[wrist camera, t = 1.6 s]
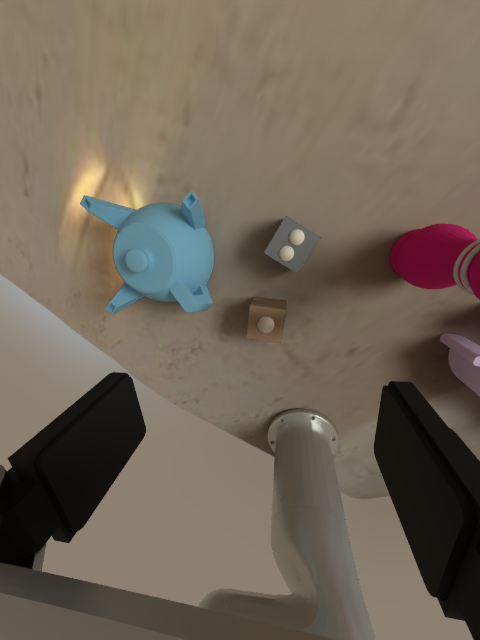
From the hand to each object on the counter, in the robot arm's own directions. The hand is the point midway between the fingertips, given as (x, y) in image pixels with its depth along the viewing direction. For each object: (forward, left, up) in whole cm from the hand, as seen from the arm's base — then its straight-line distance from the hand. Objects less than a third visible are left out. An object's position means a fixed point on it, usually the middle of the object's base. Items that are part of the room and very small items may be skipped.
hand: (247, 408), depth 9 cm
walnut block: (-6, -1, -29) cm, 30 cm away
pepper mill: (+8, -17, -29) cm, 35 cm away
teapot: (-1, +16, -29) cm, 34 cm away
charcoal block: (+5, -1, -29) cm, 30 cm away
